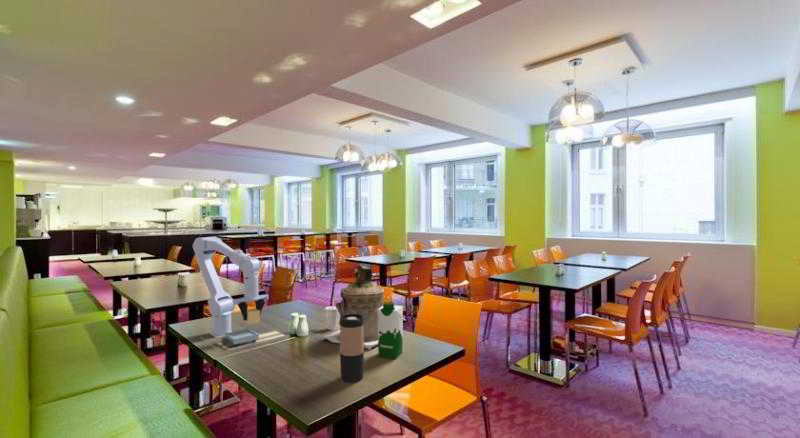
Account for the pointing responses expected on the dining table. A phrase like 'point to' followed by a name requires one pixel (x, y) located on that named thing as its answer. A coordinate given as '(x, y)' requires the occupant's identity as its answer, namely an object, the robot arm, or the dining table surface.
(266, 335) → the track
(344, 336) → the travel mug
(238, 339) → the blue square tray
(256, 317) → the ochre block
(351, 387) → the dining table surface
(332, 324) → the smoothie
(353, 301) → the cookie jar
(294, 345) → the dining table surface
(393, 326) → the milk carton
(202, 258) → the robot arm
